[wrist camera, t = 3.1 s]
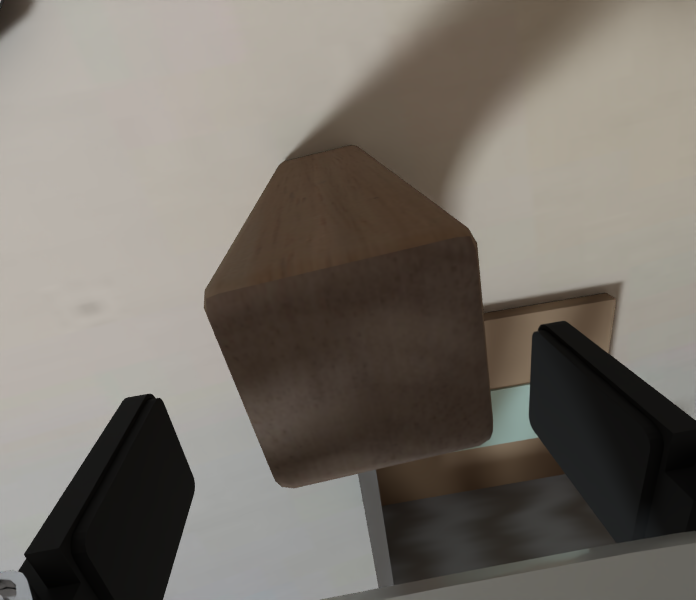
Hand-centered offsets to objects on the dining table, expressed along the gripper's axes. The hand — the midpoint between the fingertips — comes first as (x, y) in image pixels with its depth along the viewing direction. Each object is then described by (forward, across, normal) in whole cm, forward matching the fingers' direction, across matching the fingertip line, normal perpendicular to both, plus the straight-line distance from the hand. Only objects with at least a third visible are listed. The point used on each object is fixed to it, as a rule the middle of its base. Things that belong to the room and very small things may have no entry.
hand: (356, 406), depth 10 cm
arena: (+15, -9, +14) cm, 23 cm away
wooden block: (+16, -1, 0) cm, 16 cm away
